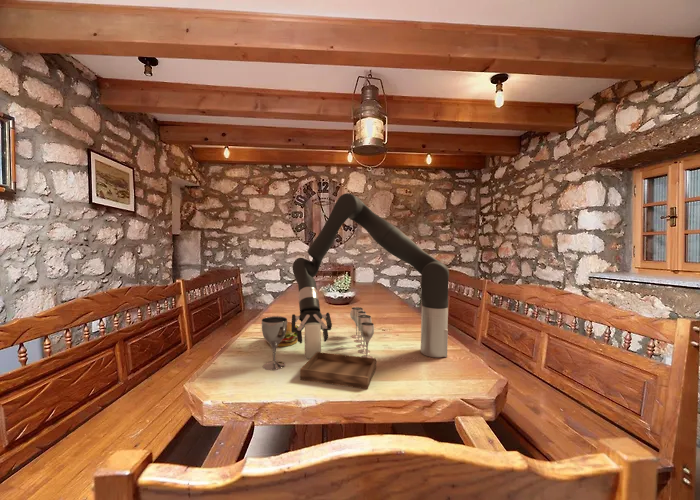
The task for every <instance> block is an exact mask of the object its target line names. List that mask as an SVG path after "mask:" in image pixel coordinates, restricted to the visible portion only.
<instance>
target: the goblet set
mask: <svg viewBox="0 0 700 500" xmlns="http://www.w3.org/2000/svg"><path fill="white" fill-rule="evenodd" d="M349 316H350V319H351V320H352V321H353V322H354V324H355V329H356V331H355V333H356V334H353V335H351V336H350V337H351V338H352V339H355V340H353V341H354V343H358V344H357V345H355V347H356V348H358V350H357V353H358V354H360V355H361V356H360V357H367V358H374V357H373V356H372V355H371V354H370V353H371V351H370V350H369V343H370V341H371V340H372V338H373V336H374V335H375V325H374V323H373V322H372V316H371V315H370V314H369V315H368V314H367V312H366V311H365V310H364V309H363V307H359V306H355V307H354V306H353V307H351V310H350V312H349ZM369 354H370V355H369Z"/></svg>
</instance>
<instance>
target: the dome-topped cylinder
mask: <svg viewBox="0 0 700 500" xmlns="http://www.w3.org/2000/svg"><path fill="white" fill-rule="evenodd" d="M321 344H322V330H321V324H320V323H307V324H305V327H304V358H305V359H308V360H310V359H311V357H312V356H313V355H314V354H315V353H316V352H322V345H321Z"/></svg>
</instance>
